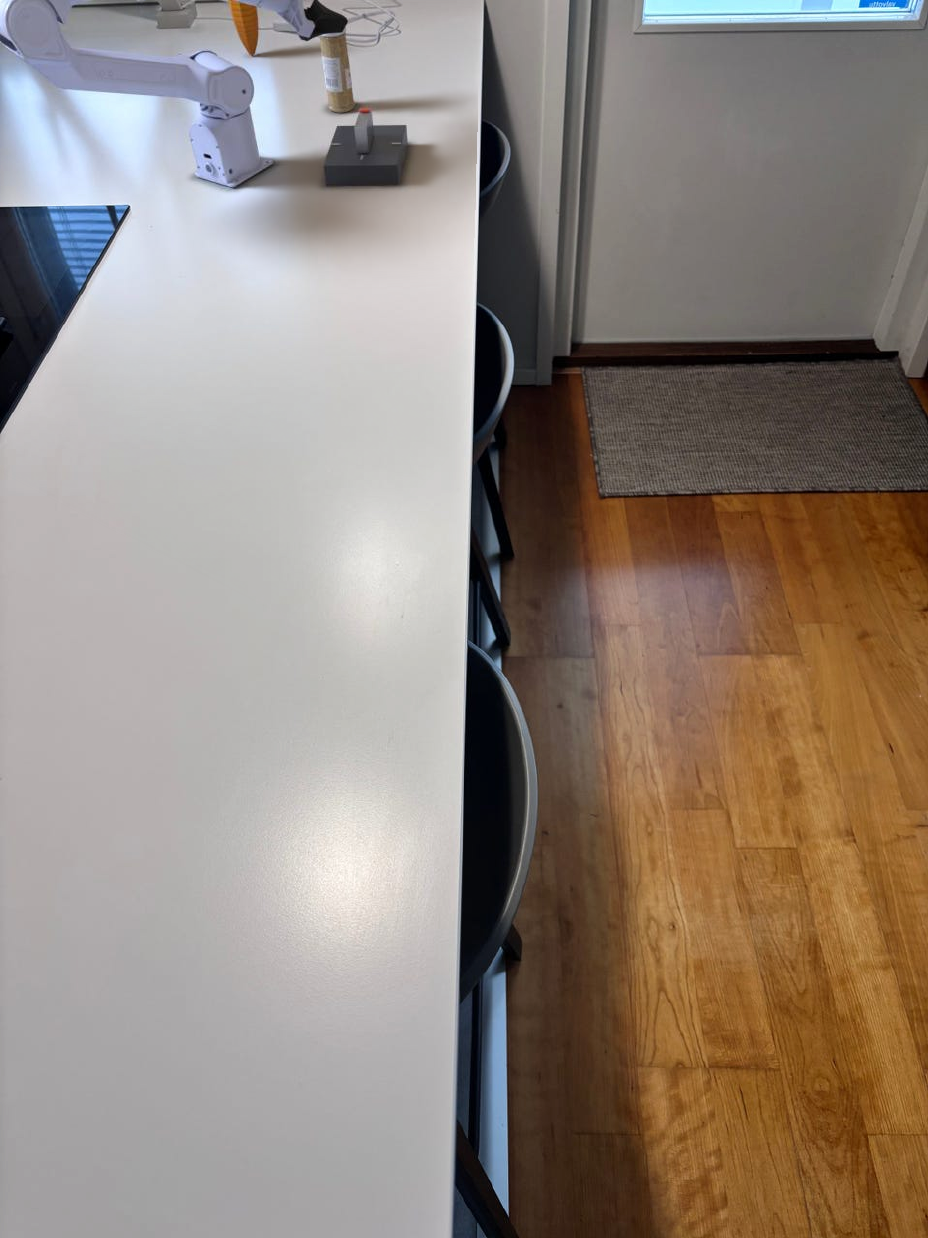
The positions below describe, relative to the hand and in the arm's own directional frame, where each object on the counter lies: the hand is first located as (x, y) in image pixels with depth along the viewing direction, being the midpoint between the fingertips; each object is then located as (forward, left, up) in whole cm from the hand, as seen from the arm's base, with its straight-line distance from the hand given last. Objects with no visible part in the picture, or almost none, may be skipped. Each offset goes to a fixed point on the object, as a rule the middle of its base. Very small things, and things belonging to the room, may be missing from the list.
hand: (334, 5), depth 142 cm
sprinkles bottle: (+6, +6, -18) cm, 20 cm away
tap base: (-9, -11, -18) cm, 23 cm away
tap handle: (-9, -11, -15) cm, 20 cm away
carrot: (+17, +36, -18) cm, 44 cm away
